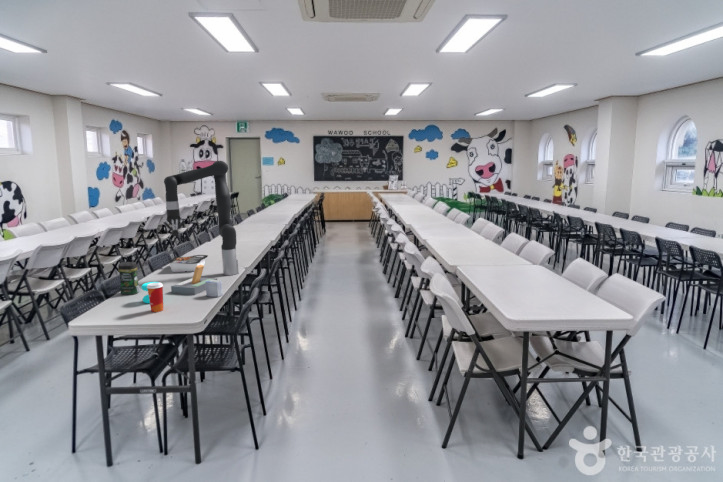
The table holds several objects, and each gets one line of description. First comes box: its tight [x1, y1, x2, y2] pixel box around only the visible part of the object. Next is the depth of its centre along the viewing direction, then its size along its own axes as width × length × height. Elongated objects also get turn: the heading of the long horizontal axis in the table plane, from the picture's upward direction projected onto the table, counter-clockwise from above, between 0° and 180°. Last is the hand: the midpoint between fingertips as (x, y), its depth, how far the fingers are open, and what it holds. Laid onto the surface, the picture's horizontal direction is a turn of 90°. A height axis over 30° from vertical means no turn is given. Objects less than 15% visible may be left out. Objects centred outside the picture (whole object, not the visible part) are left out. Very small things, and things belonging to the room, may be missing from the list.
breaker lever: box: [191, 265, 205, 284], centre depth 270 cm, size 2×5×12 cm, turn 164°
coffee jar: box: [117, 261, 141, 296], centre depth 263 cm, size 10×8×19 cm
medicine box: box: [205, 279, 224, 298], centre depth 256 cm, size 8×4×9 cm, turn 71°
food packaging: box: [166, 254, 209, 273], centre depth 324 cm, size 25×8×23 cm
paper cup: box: [147, 281, 164, 313], centre depth 231 cm, size 8×8×14 cm
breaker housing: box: [170, 276, 218, 296], centre depth 271 cm, size 16×22×4 cm
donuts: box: [140, 281, 159, 304], centre depth 248 cm, size 10×10×10 cm
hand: (175, 235), depth 287 cm, fingers closed
